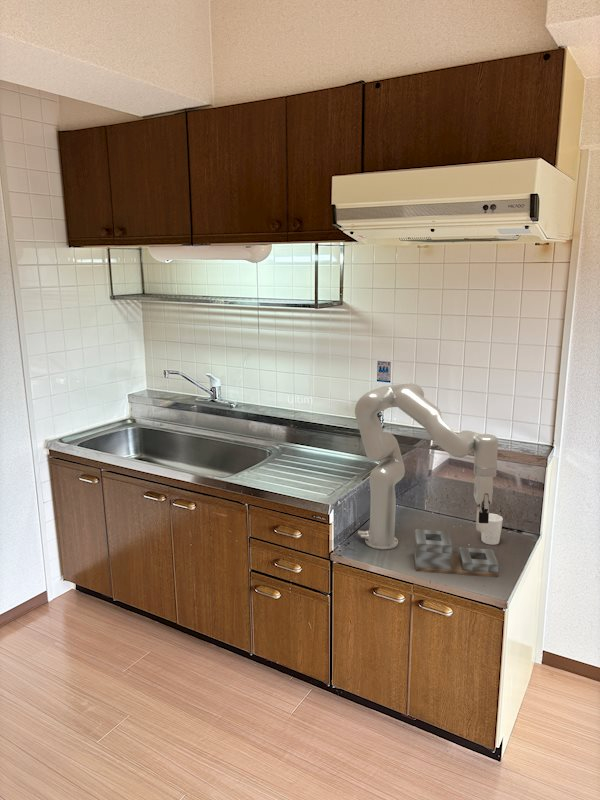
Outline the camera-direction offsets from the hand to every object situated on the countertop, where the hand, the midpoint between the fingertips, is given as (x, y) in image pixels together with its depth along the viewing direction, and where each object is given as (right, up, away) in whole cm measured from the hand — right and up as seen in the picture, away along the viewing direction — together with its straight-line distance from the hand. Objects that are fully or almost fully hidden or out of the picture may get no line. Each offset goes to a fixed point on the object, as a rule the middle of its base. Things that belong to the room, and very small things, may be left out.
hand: (482, 519), depth 214 cm
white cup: (+10, -13, +24) cm, 30 cm away
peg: (0, -4, +1) cm, 4 cm away
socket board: (-9, -17, +5) cm, 20 cm away
